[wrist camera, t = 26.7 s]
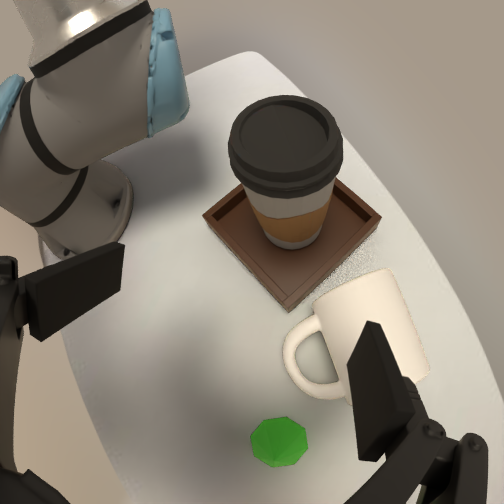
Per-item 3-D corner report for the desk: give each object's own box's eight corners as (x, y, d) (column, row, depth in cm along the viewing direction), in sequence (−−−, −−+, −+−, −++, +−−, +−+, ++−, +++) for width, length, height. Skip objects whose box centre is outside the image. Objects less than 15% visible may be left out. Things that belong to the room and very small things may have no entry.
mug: (378, 282, 30) (401, 257, 23) (412, 367, 26) (445, 368, 19) (272, 324, 30) (263, 313, 23) (304, 414, 27) (306, 433, 19)
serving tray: (208, 225, 35) (201, 215, 33) (293, 157, 37) (292, 143, 34) (288, 313, 31) (287, 308, 28) (376, 228, 32) (382, 217, 30)
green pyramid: (257, 410, 28) (247, 421, 22) (315, 422, 26) (319, 436, 21) (243, 460, 26) (231, 480, 20) (300, 472, 24) (300, 495, 19)
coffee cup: (316, 183, 34) (320, 82, 20) (340, 248, 31) (367, 163, 17) (246, 201, 35) (214, 106, 21) (264, 269, 32) (235, 195, 18)
